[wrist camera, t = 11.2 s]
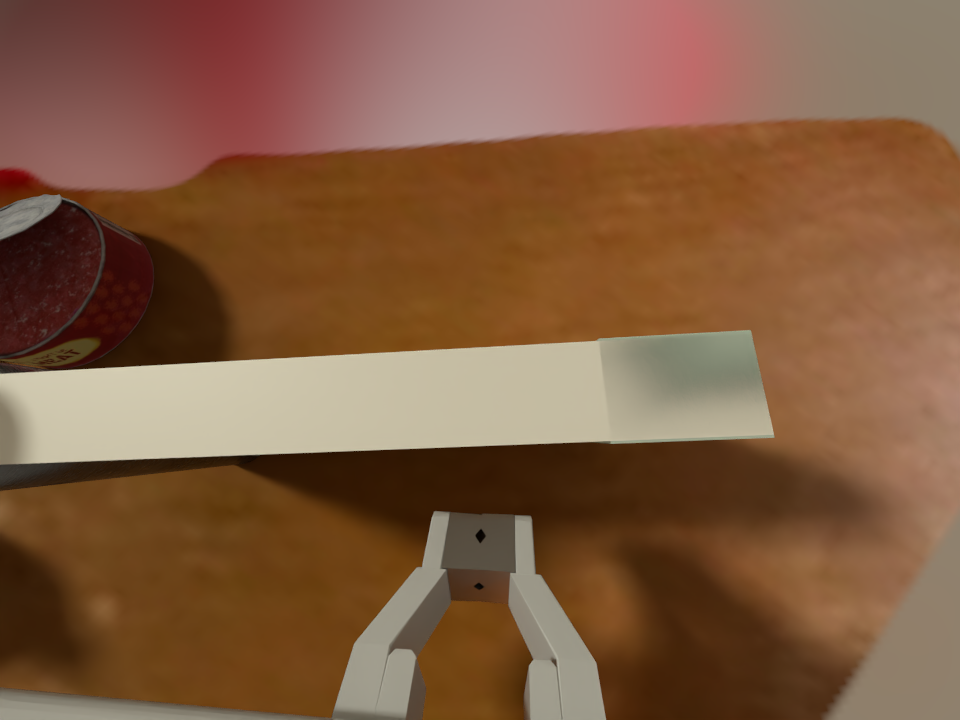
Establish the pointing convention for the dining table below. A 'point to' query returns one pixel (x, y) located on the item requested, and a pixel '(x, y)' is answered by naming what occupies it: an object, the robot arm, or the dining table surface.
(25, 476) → the hinge post
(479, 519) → the robot arm
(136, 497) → the dining table surface
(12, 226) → the canned food
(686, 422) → the cream flat block
